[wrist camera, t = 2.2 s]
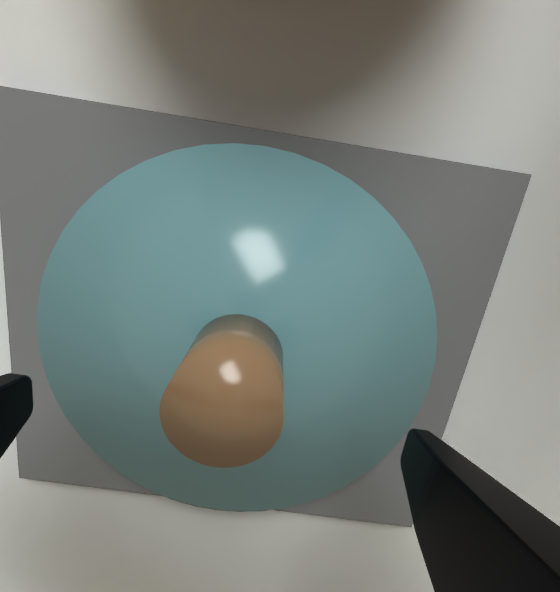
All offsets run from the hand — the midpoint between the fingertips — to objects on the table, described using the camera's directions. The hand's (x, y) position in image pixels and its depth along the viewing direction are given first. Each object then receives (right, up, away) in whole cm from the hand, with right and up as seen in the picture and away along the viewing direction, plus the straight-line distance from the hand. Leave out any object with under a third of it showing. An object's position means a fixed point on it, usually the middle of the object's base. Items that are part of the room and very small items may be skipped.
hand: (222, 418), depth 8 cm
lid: (0, +1, +4) cm, 4 cm away
